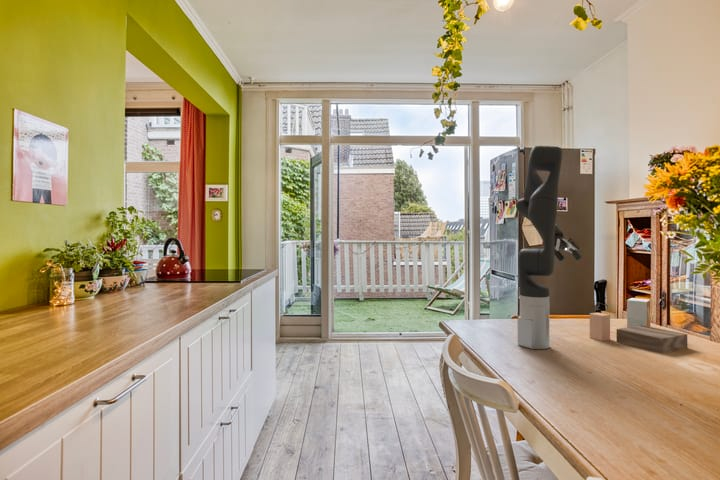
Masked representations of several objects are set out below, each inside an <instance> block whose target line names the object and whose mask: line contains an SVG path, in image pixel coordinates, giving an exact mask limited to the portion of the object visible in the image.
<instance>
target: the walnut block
mask: <svg viewBox="0 0 720 480" xmlns="http://www.w3.org/2000/svg"><path fill="white" fill-rule="evenodd" d="M615 331H616V343H619V344H623V345H627V346H632V347H635V348H639V349H643V350H646V351H647V350H648V351H652V352H655V353H659V354H665V353H670V352H671V353H672V352H675V351H679V350H685V349H686V350H687V349H688V333H683V332H678V331H673V330H669V329H668V330H667V329H661V328H657V327H651V326H650V327H648V326H642V325H640V326H633V327H627V326H626V327H621V328H616V330H615Z"/></svg>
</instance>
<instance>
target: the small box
mask: <svg viewBox="0 0 720 480" xmlns="http://www.w3.org/2000/svg"><path fill="white" fill-rule="evenodd" d="M640 325H642V326H648V327H651V299H649V298H648V299H645V298H637V297H631V298H628V299H626V328H627V327H633V326H640Z"/></svg>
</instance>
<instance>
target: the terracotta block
mask: <svg viewBox="0 0 720 480" xmlns="http://www.w3.org/2000/svg"><path fill="white" fill-rule="evenodd" d="M589 338H590V339H593V340H597V341H600V342H602V341H609V340H611V314H607V313H602V312H590V313H589Z"/></svg>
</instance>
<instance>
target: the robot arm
mask: <svg viewBox="0 0 720 480" xmlns="http://www.w3.org/2000/svg"><path fill="white" fill-rule="evenodd" d="M527 161H528V162H527V171H526V180H525V181H526V182H525V185H524V189H523V193H522V196H523V198H520V199H518V200H517V201H516V203H515V208H516V211H517V212H518V213H519V215H522V216H523V217H524V218H526V219H527V220H528V221H530V223H531V224H532V225H533V227H534V228H535V230H536V231H537V233H538V235H539V236H540V238H541V240H542V243H541V244H542V246H543V247H542V248H522V249H520V250H519V253H518V256H517V265H518V266H517V267H518V277H519V278H518V284H519V285H518V287H519V316H518V317H517V345H518V346H521V347H525V348H527V349H529V350H535V349H536V350H546V349H549V348H550V345H551V343H550V340H551V339H550V289H549V287H547V286H545V285H542V284H540V283H538V282H536V281H535V280H533V278H532V276H535V277H537V276H539V277H550V276H552V274H553V272H554V268H555V257H556V259H558V261H559V262H563V261H564V260H565V259H566V257H565V256H564V255H563V253H562V252H561V250H564V252H569V253H571V255H572V257H574V259H575V260H576V261H580V260H581V259H582V255H581V254H580V253H579V250H580V246H579V245H578V244H577V242H576V241H574V240H573V239H572V238H571V237H569V238H568V239H566V238H565V237H564V232H563V231H562V230H561V228H560V226H558V225H557V223H556V222H557V216H558V215H557V214H558V213H557V212H558V204H559V203H558V202H559V201H558V199H559V197H558V196H559V182H560V181H559V180H560V175H561V168H562V167H561V166H562V162H563V150H562V148H561V147H559V146H549V145H534V146H533V147H532V148H531V150H530V151H529V155H528V160H527ZM537 171H539V172H549V175H548V176H547V178H546V179H545V180H544V181H543V179H542V177H541V176H540V174H539V173H538V172H537Z"/></svg>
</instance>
